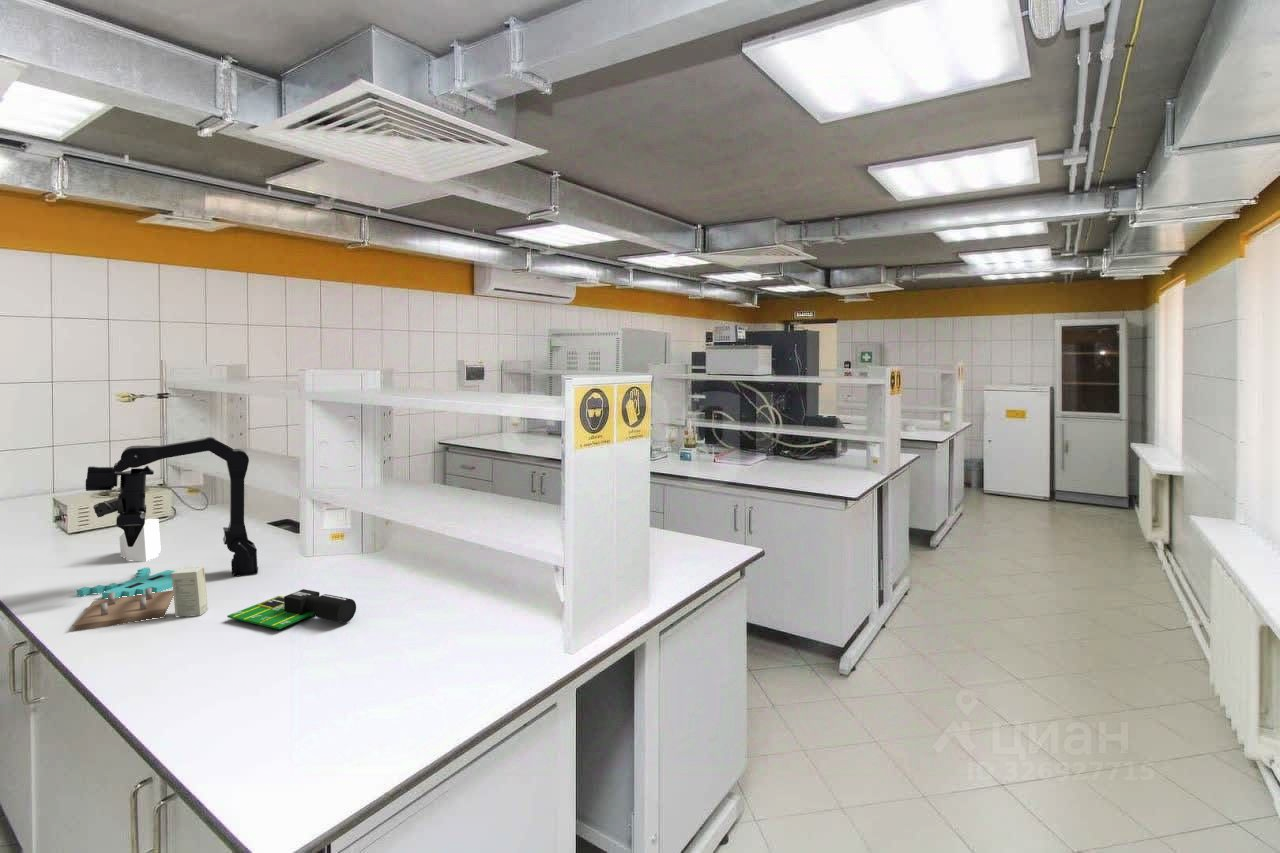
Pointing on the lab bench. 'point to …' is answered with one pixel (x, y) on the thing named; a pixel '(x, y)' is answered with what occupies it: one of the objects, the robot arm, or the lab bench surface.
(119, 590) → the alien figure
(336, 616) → the circuit board with cylinder
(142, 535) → the white boxy block
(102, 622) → the peg board
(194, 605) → the skincare box
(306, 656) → the lab bench surface
